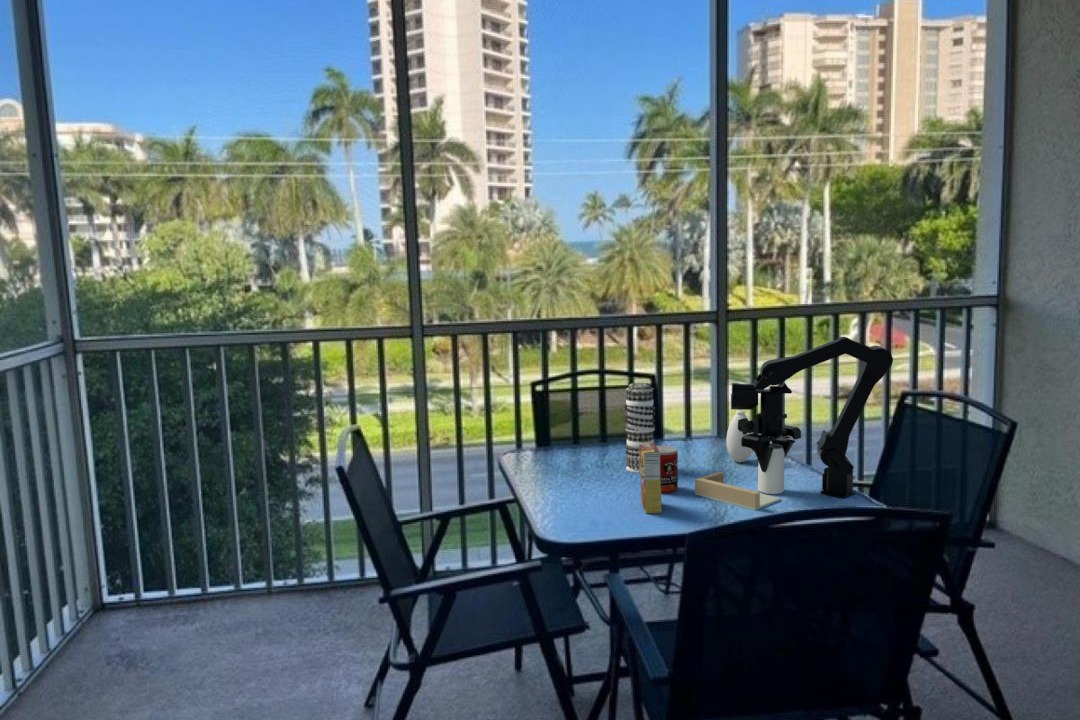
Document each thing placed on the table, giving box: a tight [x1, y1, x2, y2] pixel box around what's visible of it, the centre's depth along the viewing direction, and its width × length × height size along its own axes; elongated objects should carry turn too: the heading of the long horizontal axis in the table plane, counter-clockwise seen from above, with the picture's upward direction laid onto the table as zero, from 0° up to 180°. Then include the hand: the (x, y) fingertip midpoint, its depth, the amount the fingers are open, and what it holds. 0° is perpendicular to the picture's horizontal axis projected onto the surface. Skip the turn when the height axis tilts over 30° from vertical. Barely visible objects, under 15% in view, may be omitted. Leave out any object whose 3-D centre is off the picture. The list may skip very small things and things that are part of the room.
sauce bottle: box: [726, 410, 754, 463], centre depth 232 cm, size 8×8×18 cm
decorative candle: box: [623, 382, 657, 474], centre depth 227 cm, size 9×9×25 cm
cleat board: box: [694, 471, 782, 511], centre depth 199 cm, size 18×11×4 cm, turn 41°
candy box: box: [639, 442, 662, 514], centre depth 192 cm, size 9×4×15 cm, turn 0°
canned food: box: [656, 444, 679, 494], centre depth 207 cm, size 8×8×11 cm
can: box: [757, 443, 786, 496], centre depth 203 cm, size 6×6×12 cm
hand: (771, 469), depth 203 cm, fingers closed on can, 6 cm apart
